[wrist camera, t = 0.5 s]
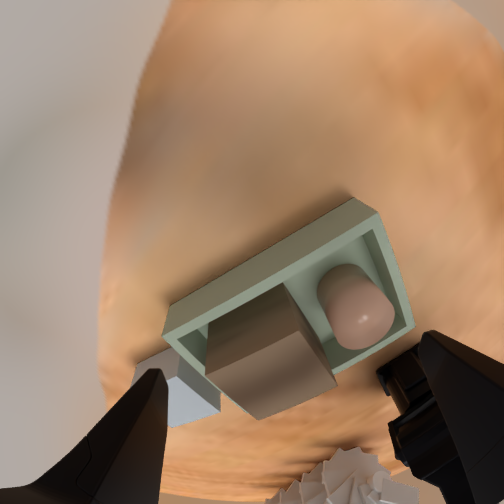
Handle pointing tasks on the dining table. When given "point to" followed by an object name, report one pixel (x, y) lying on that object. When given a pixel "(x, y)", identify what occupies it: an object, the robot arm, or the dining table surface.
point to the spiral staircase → (347, 483)
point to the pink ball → (354, 306)
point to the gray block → (182, 388)
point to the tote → (299, 284)
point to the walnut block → (267, 355)
